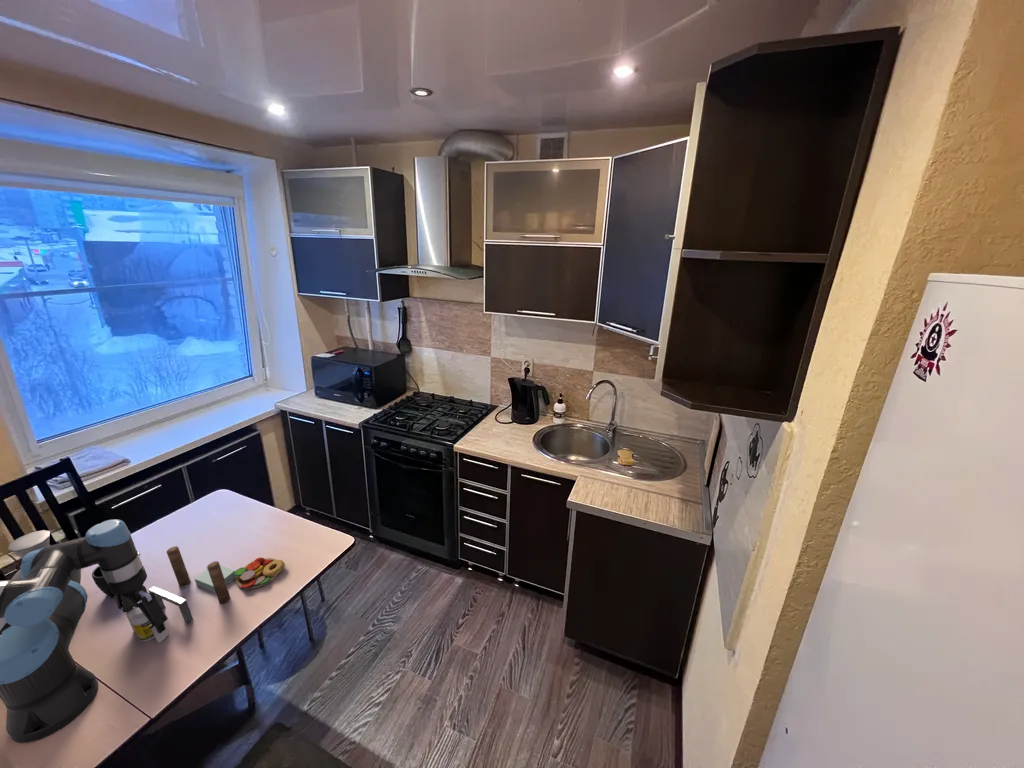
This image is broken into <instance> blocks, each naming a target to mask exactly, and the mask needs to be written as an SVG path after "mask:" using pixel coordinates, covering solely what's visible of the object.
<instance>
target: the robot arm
mask: <svg viewBox="0 0 1024 768" xmlns="http://www.w3.org/2000/svg"><path fill="white" fill-rule="evenodd" d="M140 556H141V552H138V550H137V549H136V545H135V542H134V540H133V537H132V533H131V531H130V530H129V529H128V526H127V525H126V523H125V522H124V521H123V520H121V519H118V518H117V519H116V518H115V519H108V520H104V521H102V522H101V523H97V524H95V525H93V526H92V527H90V528H89V529H88V530H87V531H86V533H85V536H83V537H78V538H74V539H72V540H68V541H64V542H60V543H56V544H52V545H51V544H49V546H46V547H44V548H41V549H38V550H35V551H32V552H29V553H28V554H26V555H25V556H24V557H23V559H22V558H21V565H20V566H19V568H20V569H19V570H20V571H21V575H22V577H23V579H18V580H11V579H8V580H0V700H1V701H2V703H3V704H4V705H5V707H6V720H5V721H6V722H5V728H6V733H7V735H8V736H9V737H10V738H11V740H12V741H13V742H16V743H19V744H27V743H32V742H36V741H39V740H42V739H44V738H47V737H48V736H51V735H53V734H55V733H56V732H58V731H60V730H62V729H63V728H65V727H66V726H68V725H69V724H70V723H72V722H73V721H75V720H76V718H78V717H79V716H80V715H81V714H82V713H84V712H85V710H86V709H87V708H88V707H89V705H90V704H91V703H92V702H93V700H94V699H95V697H96V695H97V693H98V689H99V681H98V679H97V677H96V676H95V673H93V672H92V671H90V670H88V669H85V668H84V667H82V666H80V665H78V664H77V663H76V661H75V660H74V658H73V656H72V655H71V652H70V651H69V647H70V644H71V641H72V639H73V636H74V634H75V632H76V629H77V626H78V625H79V622H80V620H81V618H82V616H83V615H84V613H85V611H86V606H87V602H88V593H87V591H86V588H85V587H84V586H83V585H82V584H81V583H80V584H79V583H77V582H74V581H71V578H72V576H73V574H74V572H75V571H76V570H79V569H81V570H82V569H85V568H88V567H91V566H94V565H97V566H99V567H100V570H101V572H102V574H103V576H104V578H105V580H106V581H107V584H108V586H109V588H110V591H111V592H112V593H113V594H115V597H114V598H115V601H116V606H117V609H119V610H122V612H123V613H124V614H125V616H126V618H127V620H128V623H129V625H130V627H131V629H132V631H133V632H136V631H135V629H134V627H133V625H132V622H131V619H132V617H133V616H132V613H131V612H132V610H133V608H134V607H136V608H140V610H141V611H142V612H143V614H144V615H145V616H146V618H147V619H148V620H149V622H150V623H151V625H150V627H149V628H150V629H152V631H153V634H154V636H155V637H154V638H155V640H156V643H158V644H160V643H162V642H163V640H165V639H166V638H168V637H169V635H170V634H169V631H168V629H167V626H166V624H165V622H166V621H167V620H168V616H167V615H166V614H165V612H164V609H162V608H161V607H160V605H159V603H158V602H157V600H156V598H155V595H154V593H153V592H152V591H151V592H149V591H148V589H147V588H146V586H145V585H144V584H145V582H146V580H147V579H148V578H147V577H148V575H147V571H146V570H145V567H144V565H143V562H142V560H141V558H140Z"/></svg>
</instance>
